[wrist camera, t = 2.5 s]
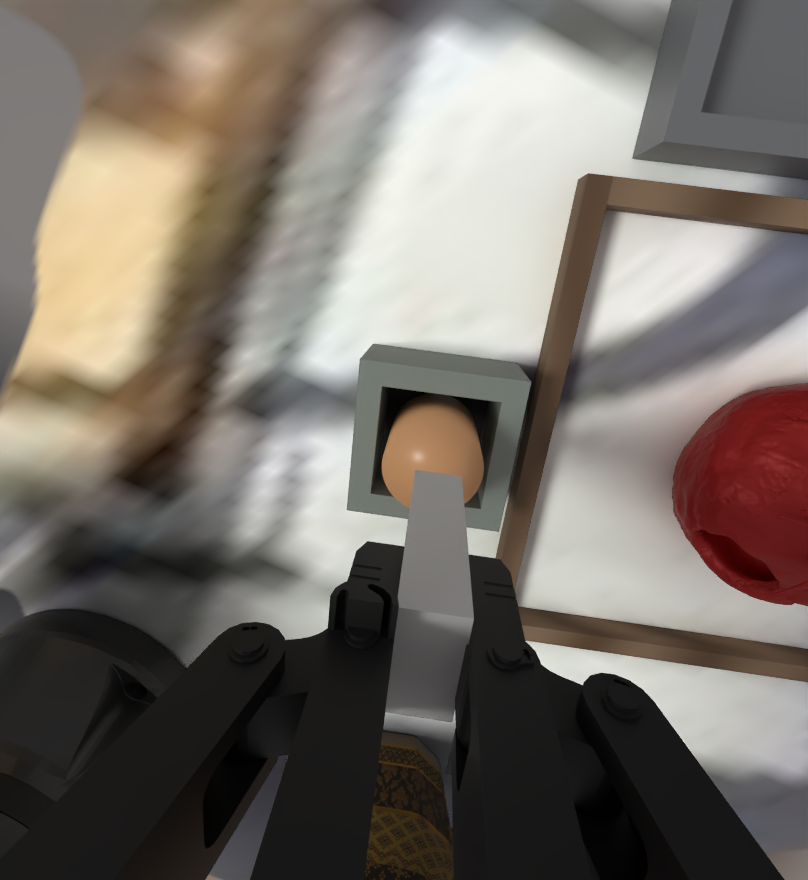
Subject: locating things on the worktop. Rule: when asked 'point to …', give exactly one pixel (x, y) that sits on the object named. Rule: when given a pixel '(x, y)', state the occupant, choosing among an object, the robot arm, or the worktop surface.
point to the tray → (731, 88)
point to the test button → (432, 445)
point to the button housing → (446, 377)
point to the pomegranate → (750, 493)
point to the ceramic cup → (409, 815)
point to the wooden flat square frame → (546, 393)
